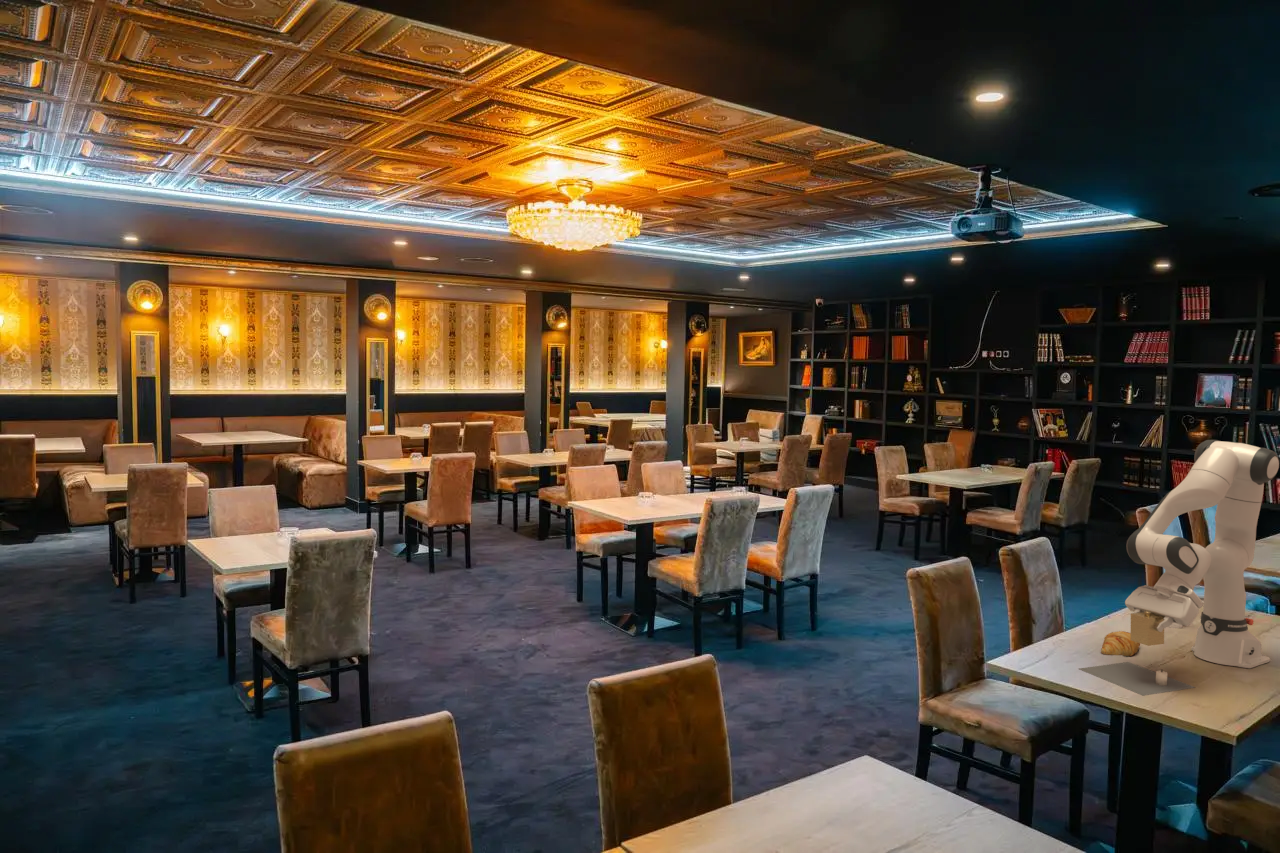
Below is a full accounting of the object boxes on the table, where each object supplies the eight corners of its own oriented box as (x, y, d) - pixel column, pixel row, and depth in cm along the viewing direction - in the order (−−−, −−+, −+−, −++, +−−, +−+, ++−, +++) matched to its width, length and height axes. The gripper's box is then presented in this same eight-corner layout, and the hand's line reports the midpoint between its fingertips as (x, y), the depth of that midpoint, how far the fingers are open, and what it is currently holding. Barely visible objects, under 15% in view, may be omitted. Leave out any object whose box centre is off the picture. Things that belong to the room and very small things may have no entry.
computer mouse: (1160, 681, 248) (1161, 667, 248) (1168, 685, 245) (1170, 670, 245) (1153, 682, 247) (1154, 668, 247) (1162, 686, 244) (1163, 671, 244)
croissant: (1111, 670, 269) (1124, 652, 265) (1084, 647, 276) (1096, 630, 272) (1144, 657, 281) (1157, 640, 277) (1117, 636, 288) (1129, 618, 284)
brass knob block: (1146, 638, 252) (1146, 608, 251) (1164, 643, 246) (1164, 613, 246) (1130, 640, 250) (1130, 610, 249) (1148, 645, 244) (1148, 615, 244)
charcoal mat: (1128, 664, 265) (1128, 661, 265) (1195, 690, 244) (1195, 687, 244) (1077, 671, 257) (1077, 668, 257) (1142, 698, 237) (1142, 695, 237)
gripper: (1135, 577, 259) (1110, 611, 257) (1197, 591, 240) (1171, 628, 237) (1146, 590, 261) (1121, 624, 258) (1209, 606, 241) (1183, 643, 239)
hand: (1145, 627), depth 247 cm, fingers closed on brass knob block, 6 cm apart
